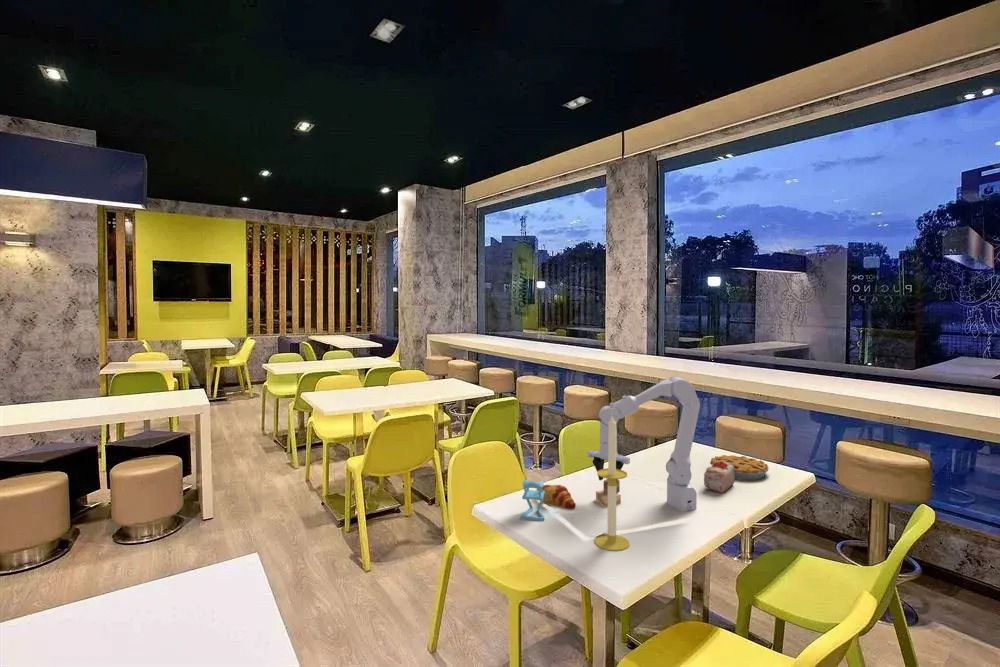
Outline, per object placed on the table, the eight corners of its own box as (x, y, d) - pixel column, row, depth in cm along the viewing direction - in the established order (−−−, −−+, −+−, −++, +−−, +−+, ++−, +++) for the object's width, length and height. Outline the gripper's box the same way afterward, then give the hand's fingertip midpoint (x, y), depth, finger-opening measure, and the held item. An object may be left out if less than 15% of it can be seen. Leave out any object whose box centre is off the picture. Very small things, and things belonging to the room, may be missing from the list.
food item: (724, 495, 180) (725, 468, 180) (702, 490, 185) (702, 464, 185) (736, 485, 190) (736, 459, 190) (714, 480, 196) (714, 455, 195)
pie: (774, 471, 206) (775, 459, 206) (760, 485, 190) (760, 472, 190) (719, 461, 221) (720, 450, 221) (701, 473, 205) (702, 461, 204)
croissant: (531, 504, 182) (523, 486, 180) (551, 486, 187) (542, 469, 185) (568, 523, 164) (559, 505, 162) (589, 504, 169) (580, 485, 166)
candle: (624, 534, 149) (624, 410, 148) (634, 550, 139) (635, 417, 138) (590, 535, 149) (591, 410, 147) (598, 551, 139) (598, 417, 137)
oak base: (620, 503, 170) (620, 494, 169) (605, 506, 168) (605, 497, 167) (610, 497, 175) (610, 489, 175) (595, 499, 173) (596, 491, 173)
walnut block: (619, 491, 172) (619, 480, 172) (614, 495, 169) (614, 483, 169) (608, 489, 175) (609, 477, 175) (603, 492, 172) (603, 480, 172)
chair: (546, 511, 167) (546, 475, 167) (544, 521, 159) (543, 483, 159) (524, 509, 169) (524, 474, 168) (520, 519, 161) (519, 482, 160)
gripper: (633, 442, 169) (633, 481, 170) (593, 436, 178) (593, 473, 179) (625, 447, 164) (625, 487, 164) (585, 440, 172) (584, 479, 173)
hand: (608, 481), depth 171 cm, fingers open, 5 cm apart
